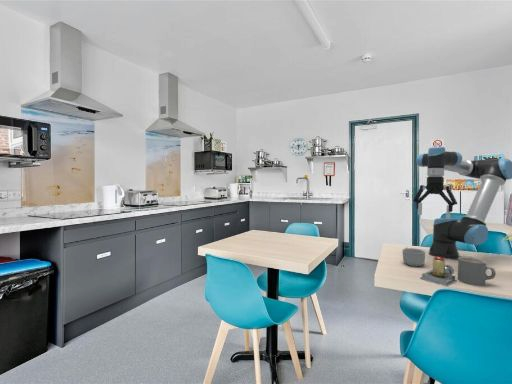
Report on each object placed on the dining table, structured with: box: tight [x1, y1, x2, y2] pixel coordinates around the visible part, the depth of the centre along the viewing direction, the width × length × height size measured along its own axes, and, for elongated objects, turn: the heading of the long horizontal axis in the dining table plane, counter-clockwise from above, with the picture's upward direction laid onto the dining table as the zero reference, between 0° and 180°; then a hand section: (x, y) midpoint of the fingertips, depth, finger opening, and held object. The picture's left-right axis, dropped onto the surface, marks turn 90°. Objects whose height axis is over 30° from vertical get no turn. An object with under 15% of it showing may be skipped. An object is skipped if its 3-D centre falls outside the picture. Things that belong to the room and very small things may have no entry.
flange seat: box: [419, 264, 458, 287], centre depth 131 cm, size 17×11×5 cm, turn 126°
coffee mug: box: [456, 256, 497, 287], centre depth 127 cm, size 13×10×10 cm
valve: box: [431, 256, 447, 279], centre depth 129 cm, size 6×6×10 cm
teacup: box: [402, 247, 426, 267], centre depth 154 cm, size 14×11×8 cm
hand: (433, 216), depth 149 cm, fingers open, 13 cm apart
